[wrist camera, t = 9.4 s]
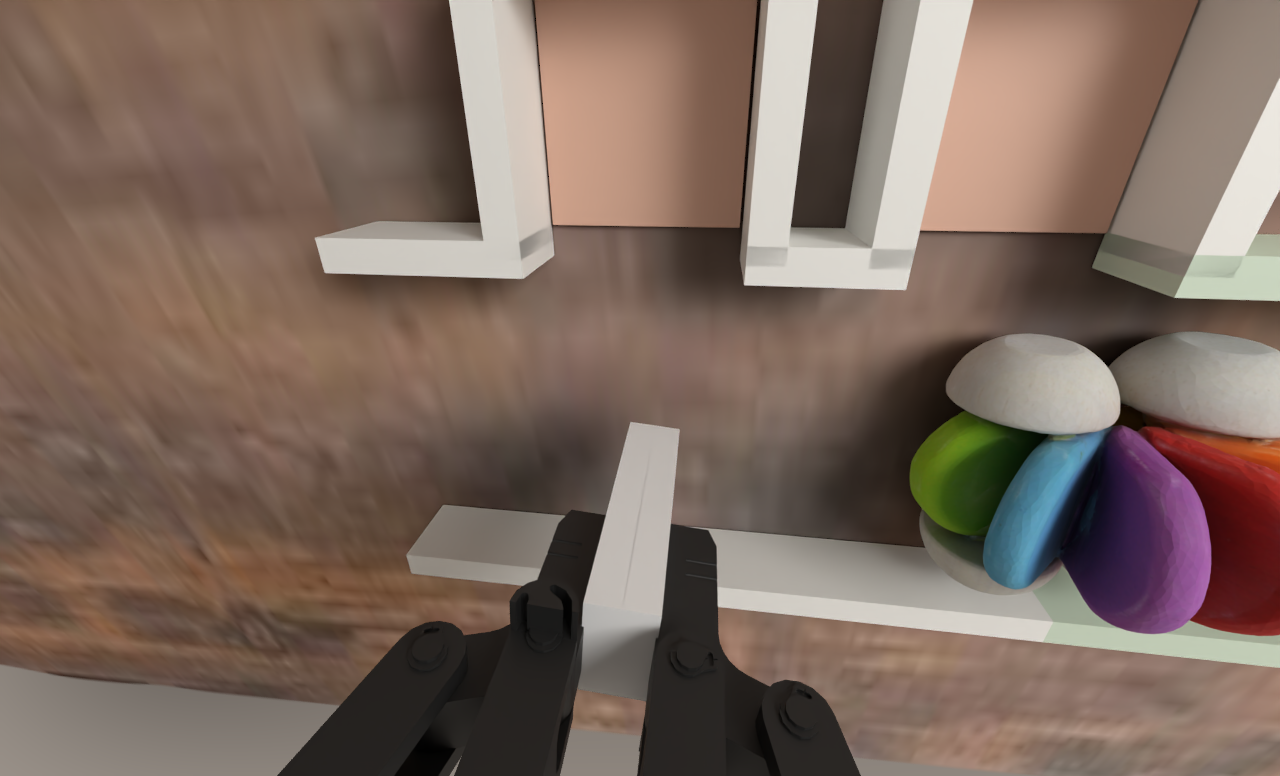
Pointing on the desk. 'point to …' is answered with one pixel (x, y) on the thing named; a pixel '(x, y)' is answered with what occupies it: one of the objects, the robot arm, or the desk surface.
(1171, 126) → the box
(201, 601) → the desk surface
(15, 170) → the desk surface
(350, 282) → the desk surface
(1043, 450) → the rainbow petal toy
